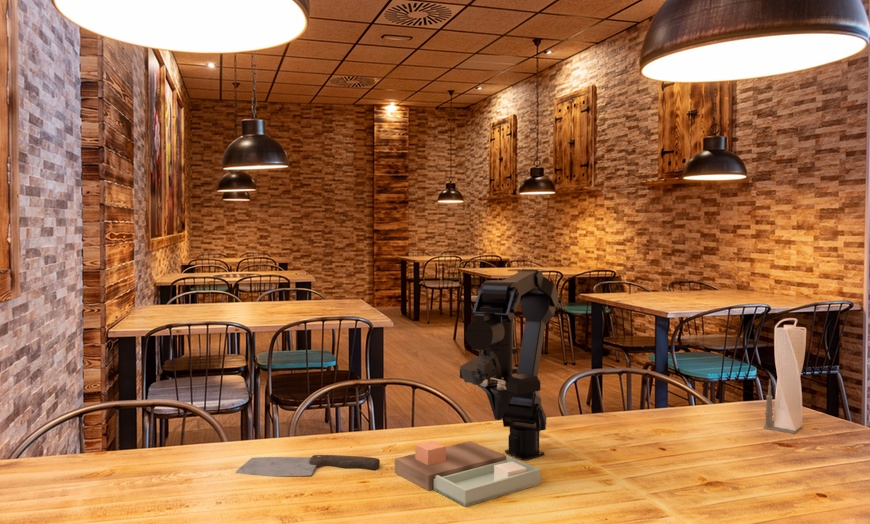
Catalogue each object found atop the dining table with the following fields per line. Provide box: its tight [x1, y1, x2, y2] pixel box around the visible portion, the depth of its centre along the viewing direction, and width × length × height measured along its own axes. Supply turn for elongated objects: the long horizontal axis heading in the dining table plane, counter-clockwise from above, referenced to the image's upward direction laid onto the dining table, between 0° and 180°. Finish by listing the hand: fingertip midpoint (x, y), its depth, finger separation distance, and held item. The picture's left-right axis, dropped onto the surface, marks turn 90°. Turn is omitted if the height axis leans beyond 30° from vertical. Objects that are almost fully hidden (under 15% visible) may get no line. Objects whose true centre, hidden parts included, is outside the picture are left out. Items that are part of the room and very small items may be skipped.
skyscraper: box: [763, 317, 807, 434], centre depth 170 cm, size 8×8×28 cm
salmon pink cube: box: [414, 440, 447, 465], centre depth 137 cm, size 4×4×3 cm
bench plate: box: [394, 441, 507, 492], centre depth 139 cm, size 20×12×3 cm, turn 126°
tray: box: [433, 456, 542, 508], centre depth 130 cm, size 19×10×3 cm, turn 126°
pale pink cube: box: [494, 461, 526, 481], centre depth 131 cm, size 4×4×3 cm
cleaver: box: [234, 454, 381, 477], centre depth 140 cm, size 29×10×2 cm, turn 88°
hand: (498, 419), depth 135 cm, fingers closed
